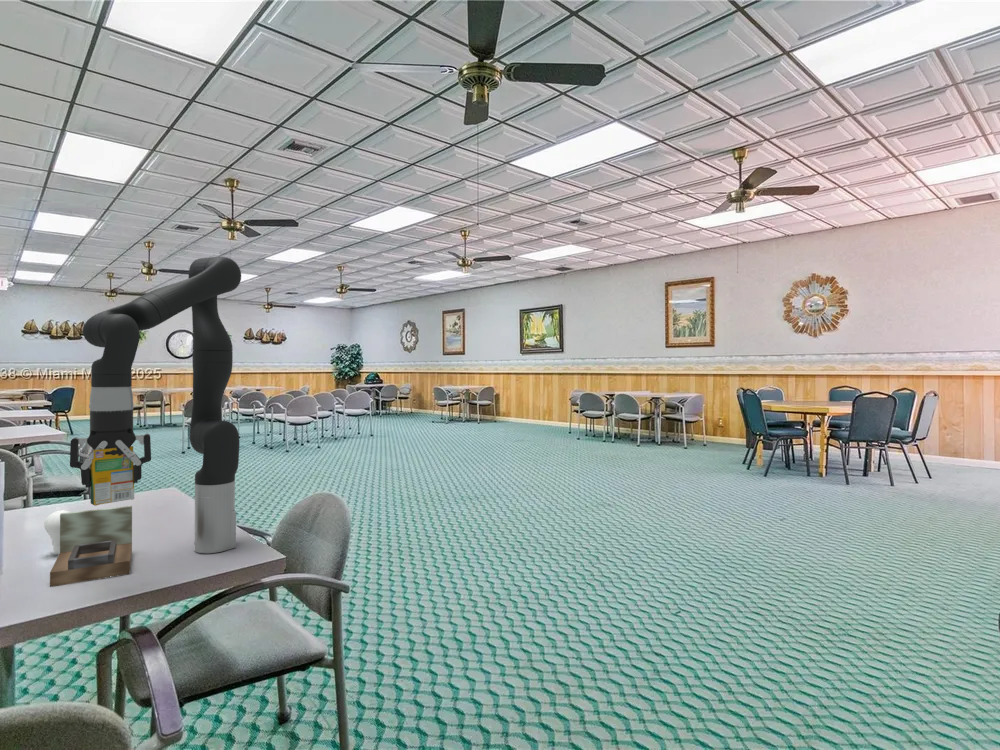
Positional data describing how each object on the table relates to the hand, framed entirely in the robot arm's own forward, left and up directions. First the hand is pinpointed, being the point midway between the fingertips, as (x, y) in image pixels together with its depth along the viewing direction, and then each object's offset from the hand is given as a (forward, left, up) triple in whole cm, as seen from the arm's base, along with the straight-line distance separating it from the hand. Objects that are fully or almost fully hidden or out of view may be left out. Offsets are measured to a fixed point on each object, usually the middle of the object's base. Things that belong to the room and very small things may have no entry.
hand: (112, 484), depth 116 cm
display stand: (+4, -14, -22) cm, 26 cm away
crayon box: (0, 0, -4) cm, 4 cm away
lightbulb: (+12, -30, -22) cm, 39 cm away
